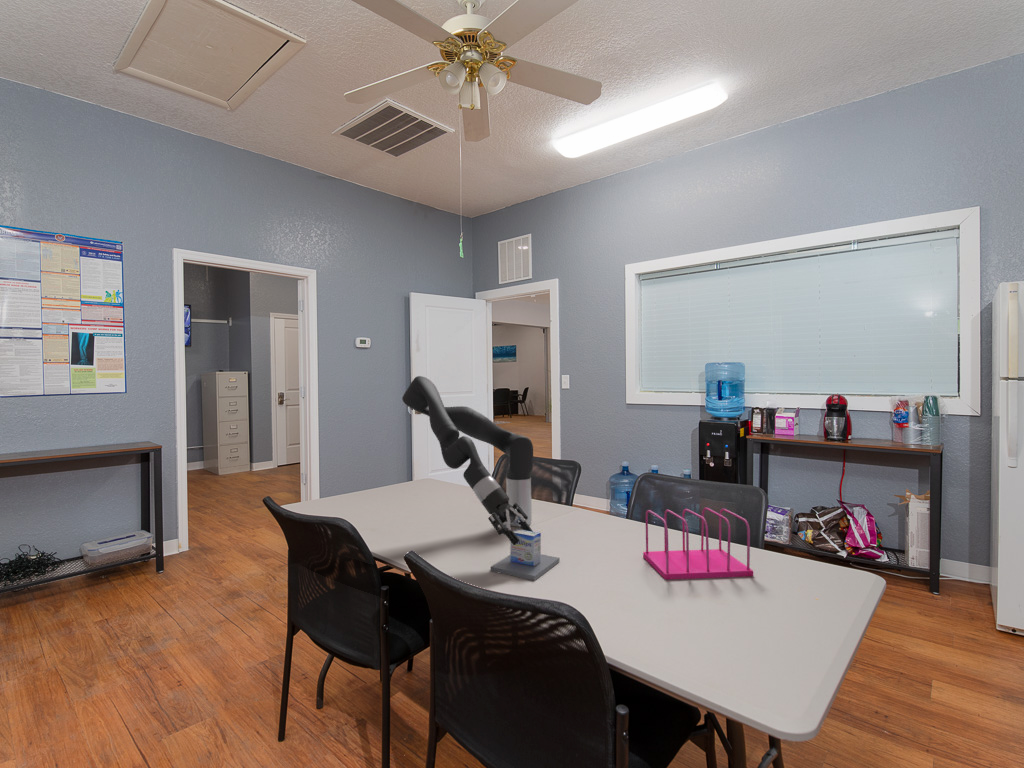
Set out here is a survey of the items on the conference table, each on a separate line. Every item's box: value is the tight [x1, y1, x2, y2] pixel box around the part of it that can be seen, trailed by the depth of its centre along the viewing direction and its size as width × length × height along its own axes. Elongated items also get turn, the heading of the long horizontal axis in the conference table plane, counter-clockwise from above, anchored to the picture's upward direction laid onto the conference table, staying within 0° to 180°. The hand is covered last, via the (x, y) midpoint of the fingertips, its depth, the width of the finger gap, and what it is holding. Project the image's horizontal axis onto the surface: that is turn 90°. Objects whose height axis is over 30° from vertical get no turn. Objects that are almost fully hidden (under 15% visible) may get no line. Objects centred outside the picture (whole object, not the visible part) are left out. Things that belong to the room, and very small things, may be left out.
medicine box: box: [509, 528, 542, 566], centre depth 145 cm, size 8×4×9 cm, turn 60°
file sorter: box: [642, 506, 754, 580], centre depth 145 cm, size 17×25×16 cm
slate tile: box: [490, 553, 560, 582], centre depth 145 cm, size 16×14×1 cm
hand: (524, 538), depth 145 cm, fingers open, 8 cm apart
